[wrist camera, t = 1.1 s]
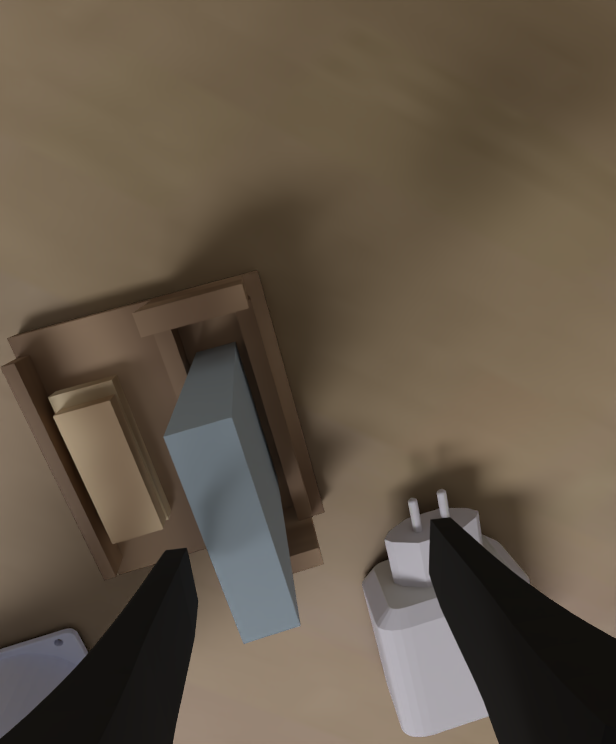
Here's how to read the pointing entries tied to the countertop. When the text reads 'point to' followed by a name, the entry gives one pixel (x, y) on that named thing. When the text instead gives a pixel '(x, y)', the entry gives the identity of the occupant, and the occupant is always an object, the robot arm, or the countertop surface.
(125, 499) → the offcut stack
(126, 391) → the tray
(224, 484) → the board
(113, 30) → the countertop surface
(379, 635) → the charger
